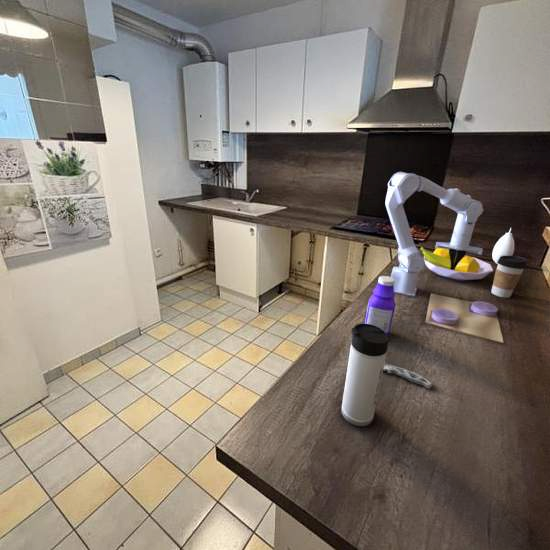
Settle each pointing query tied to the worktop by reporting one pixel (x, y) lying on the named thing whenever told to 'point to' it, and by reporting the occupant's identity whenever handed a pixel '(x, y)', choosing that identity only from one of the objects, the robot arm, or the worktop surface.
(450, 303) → the board
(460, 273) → the fruit bowl
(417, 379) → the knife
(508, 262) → the coffee cup
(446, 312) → the saucer
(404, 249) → the robot arm
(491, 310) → the saucer
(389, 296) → the bottle
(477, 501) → the worktop surface
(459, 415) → the worktop surface
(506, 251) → the white teardrop shape
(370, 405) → the travel mug
